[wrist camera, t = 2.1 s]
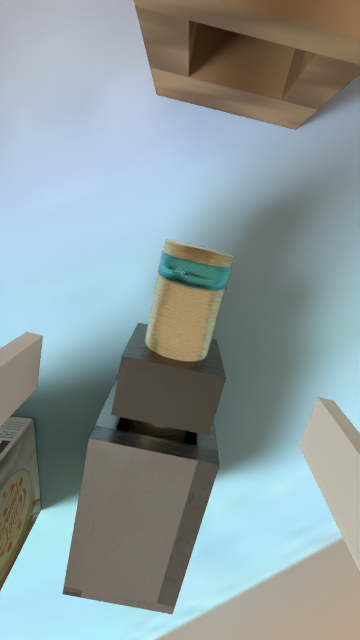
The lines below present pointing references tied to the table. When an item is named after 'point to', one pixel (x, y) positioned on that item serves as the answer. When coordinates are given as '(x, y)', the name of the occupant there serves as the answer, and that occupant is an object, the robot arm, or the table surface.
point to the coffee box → (17, 489)
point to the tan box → (252, 54)
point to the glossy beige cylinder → (176, 348)
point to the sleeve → (138, 514)
